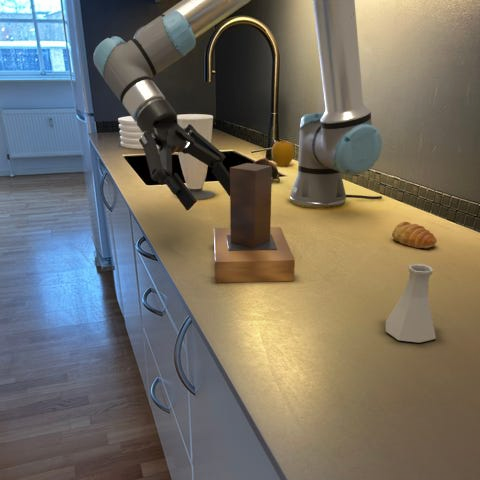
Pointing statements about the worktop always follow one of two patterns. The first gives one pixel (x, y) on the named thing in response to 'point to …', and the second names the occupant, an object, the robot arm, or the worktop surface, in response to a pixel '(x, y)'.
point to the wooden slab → (252, 259)
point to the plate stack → (130, 133)
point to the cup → (190, 165)
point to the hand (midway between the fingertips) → (214, 198)
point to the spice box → (250, 204)
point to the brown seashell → (265, 162)
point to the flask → (413, 309)
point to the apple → (283, 153)
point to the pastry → (413, 235)
